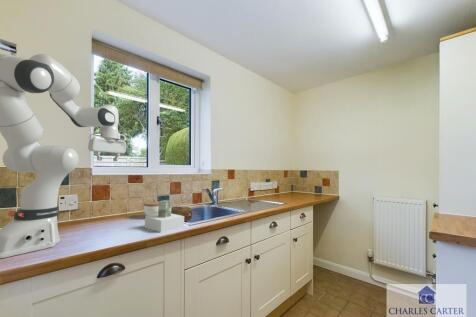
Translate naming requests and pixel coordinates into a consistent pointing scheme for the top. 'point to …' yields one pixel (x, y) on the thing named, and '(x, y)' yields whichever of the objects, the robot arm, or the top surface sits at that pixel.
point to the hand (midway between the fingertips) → (107, 160)
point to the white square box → (164, 222)
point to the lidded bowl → (151, 208)
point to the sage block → (164, 208)
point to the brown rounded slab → (183, 212)
